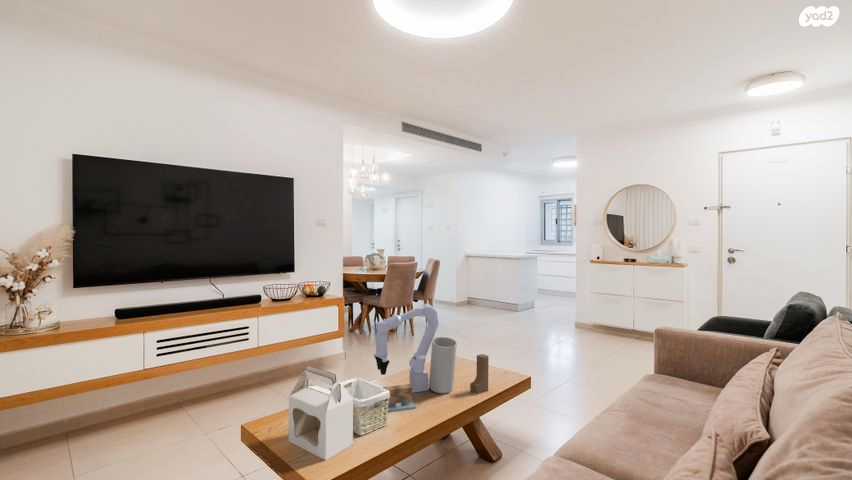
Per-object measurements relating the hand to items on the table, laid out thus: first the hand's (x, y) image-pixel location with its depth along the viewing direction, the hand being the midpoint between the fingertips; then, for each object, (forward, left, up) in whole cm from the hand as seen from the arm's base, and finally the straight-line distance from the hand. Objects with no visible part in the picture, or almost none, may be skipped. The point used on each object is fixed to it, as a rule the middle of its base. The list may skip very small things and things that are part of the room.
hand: (381, 371), depth 197 cm
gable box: (+32, +41, -10) cm, 54 cm away
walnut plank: (-3, +19, -7) cm, 21 cm away
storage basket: (+16, +29, -11) cm, 35 cm away
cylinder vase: (-30, +6, -9) cm, 32 cm away
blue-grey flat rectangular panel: (-3, +19, -10) cm, 22 cm away
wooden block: (-48, +14, -10) cm, 51 cm away
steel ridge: (-3, +19, -10) cm, 22 cm away
